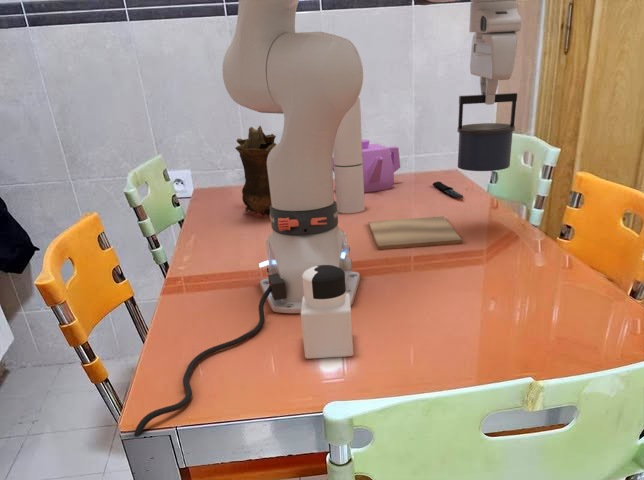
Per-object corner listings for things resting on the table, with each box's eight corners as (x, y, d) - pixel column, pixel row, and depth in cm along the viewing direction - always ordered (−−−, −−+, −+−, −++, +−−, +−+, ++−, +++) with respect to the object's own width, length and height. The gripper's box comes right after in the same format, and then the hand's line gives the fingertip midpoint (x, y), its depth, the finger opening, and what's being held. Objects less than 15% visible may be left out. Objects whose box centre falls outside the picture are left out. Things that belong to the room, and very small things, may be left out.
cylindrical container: (365, 206, 169) (361, 95, 154) (363, 213, 163) (358, 98, 149) (338, 206, 170) (331, 96, 155) (335, 213, 164) (327, 100, 149)
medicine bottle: (352, 337, 101) (347, 259, 94) (353, 356, 95) (348, 275, 88) (306, 339, 101) (298, 262, 94) (305, 359, 95) (296, 279, 88)
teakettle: (403, 182, 190) (402, 135, 183) (382, 195, 178) (380, 145, 170) (350, 180, 196) (347, 134, 189) (326, 193, 183) (322, 144, 176)
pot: (518, 169, 134) (525, 95, 127) (462, 173, 134) (465, 98, 126) (503, 160, 144) (508, 90, 136) (450, 163, 143) (453, 93, 136)
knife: (431, 182, 183) (441, 180, 183) (432, 187, 184) (442, 185, 184) (457, 197, 166) (468, 195, 167) (457, 202, 167) (468, 200, 168)
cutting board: (461, 243, 138) (462, 239, 138) (378, 249, 137) (378, 245, 137) (443, 219, 155) (443, 216, 154) (368, 225, 154) (368, 221, 153)
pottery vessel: (288, 222, 159) (278, 132, 147) (243, 226, 158) (230, 135, 147) (285, 199, 179) (276, 118, 168) (245, 202, 178) (234, 121, 167)
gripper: (464, 21, 132) (461, 99, 140) (489, 21, 116) (484, 109, 124) (495, 20, 133) (489, 98, 141) (524, 19, 116) (516, 107, 124)
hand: (487, 103), depth 132 cm, fingers closed on pot
